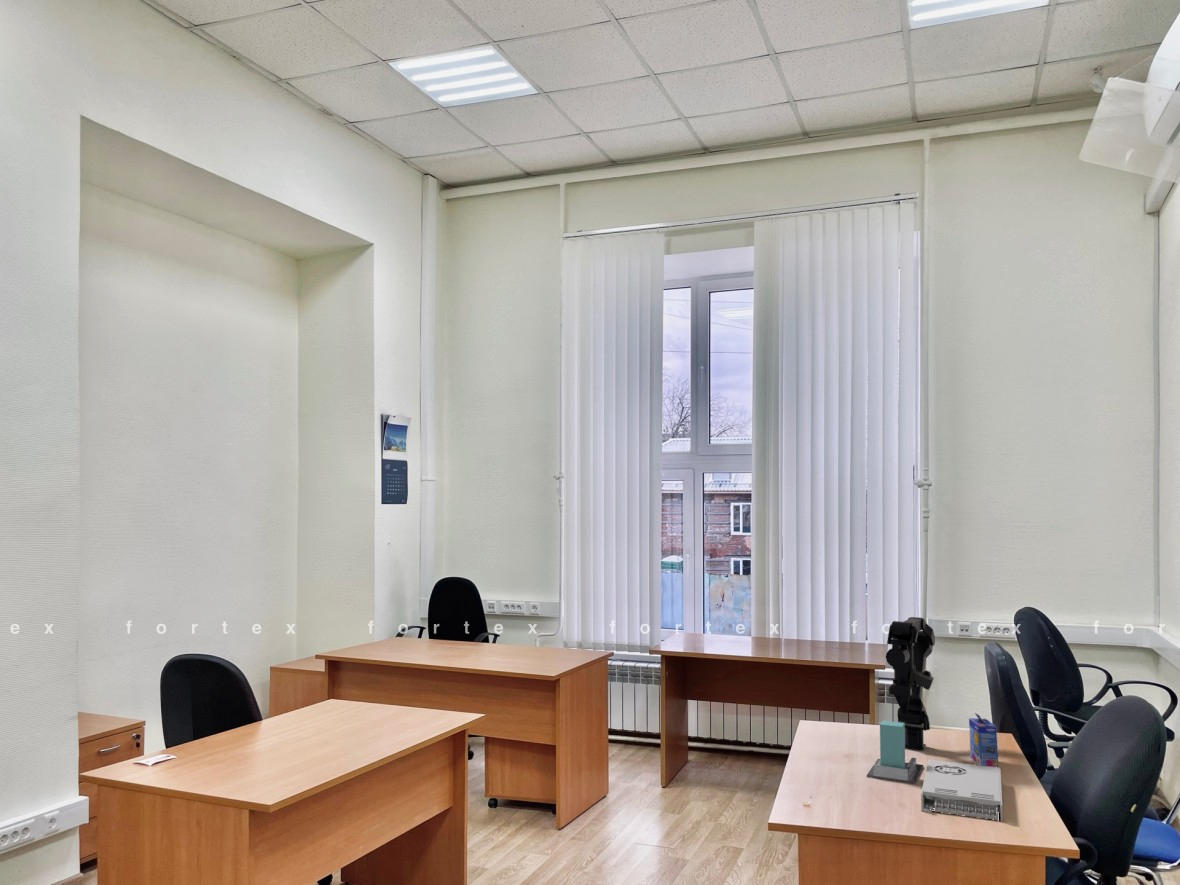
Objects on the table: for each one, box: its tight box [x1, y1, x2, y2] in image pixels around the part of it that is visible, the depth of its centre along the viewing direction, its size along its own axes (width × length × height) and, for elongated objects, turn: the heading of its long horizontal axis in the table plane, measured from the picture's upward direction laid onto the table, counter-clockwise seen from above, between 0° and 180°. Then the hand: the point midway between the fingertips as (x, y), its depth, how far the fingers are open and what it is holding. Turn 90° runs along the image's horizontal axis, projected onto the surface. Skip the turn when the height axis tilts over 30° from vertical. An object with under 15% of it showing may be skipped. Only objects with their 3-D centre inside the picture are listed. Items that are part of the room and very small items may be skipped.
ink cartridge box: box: [968, 712, 1000, 768], centre depth 270 cm, size 10×6×14 cm, turn 174°
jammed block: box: [879, 720, 906, 768], centre depth 257 cm, size 5×6×14 cm
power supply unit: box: [920, 759, 1004, 823], centre depth 239 cm, size 19×33×5 cm, turn 156°
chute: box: [866, 757, 924, 785], centre depth 260 cm, size 18×13×4 cm
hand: (904, 713), depth 277 cm, fingers closed
